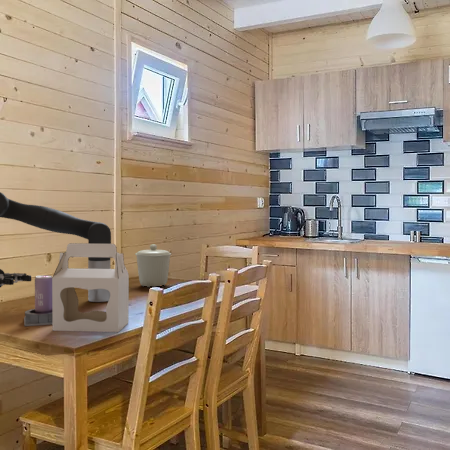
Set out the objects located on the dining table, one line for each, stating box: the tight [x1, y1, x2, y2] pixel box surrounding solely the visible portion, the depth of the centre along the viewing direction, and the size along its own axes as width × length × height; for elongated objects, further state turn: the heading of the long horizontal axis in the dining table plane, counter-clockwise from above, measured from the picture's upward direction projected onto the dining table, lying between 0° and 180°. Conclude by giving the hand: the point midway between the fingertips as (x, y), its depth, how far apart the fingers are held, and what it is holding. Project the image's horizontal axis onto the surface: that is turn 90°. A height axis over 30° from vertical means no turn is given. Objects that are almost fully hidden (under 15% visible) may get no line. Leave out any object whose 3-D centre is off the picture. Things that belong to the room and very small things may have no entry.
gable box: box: [51, 242, 130, 333], centre depth 175 cm, size 22×13×28 cm, turn 86°
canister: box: [134, 243, 172, 288], centre depth 264 cm, size 18×18×21 cm
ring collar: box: [23, 308, 53, 327], centre depth 183 cm, size 12×12×4 cm
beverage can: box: [34, 274, 53, 314], centre depth 184 cm, size 6×6×15 cm
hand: (22, 280), depth 189 cm, fingers open, 8 cm apart
